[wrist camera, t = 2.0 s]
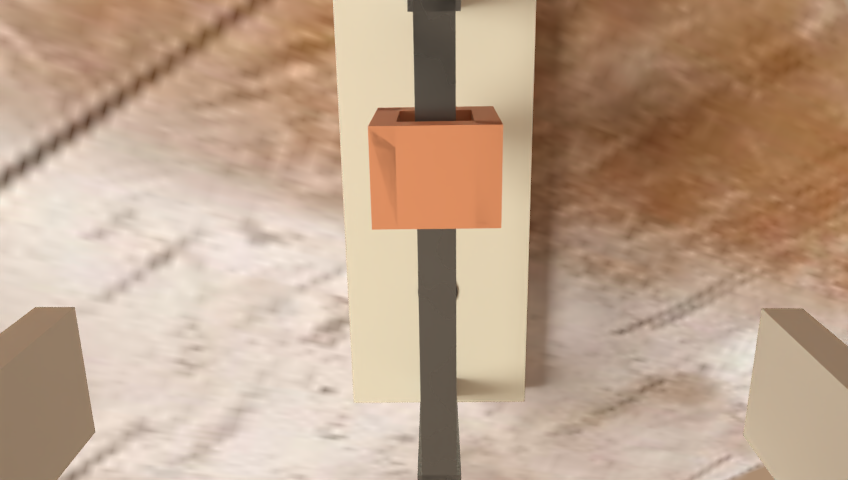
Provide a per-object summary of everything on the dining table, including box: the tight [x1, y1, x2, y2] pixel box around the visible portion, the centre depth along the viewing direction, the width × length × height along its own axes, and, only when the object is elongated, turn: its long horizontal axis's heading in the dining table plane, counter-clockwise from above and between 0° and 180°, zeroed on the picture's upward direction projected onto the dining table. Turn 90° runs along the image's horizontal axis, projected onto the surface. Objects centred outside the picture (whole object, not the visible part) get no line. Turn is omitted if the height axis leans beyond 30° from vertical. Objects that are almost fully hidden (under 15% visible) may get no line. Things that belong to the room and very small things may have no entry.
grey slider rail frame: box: [407, 0, 461, 480], centre depth 35 cm, size 24×2×9 cm, turn 1°
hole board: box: [333, 0, 536, 403], centre depth 40 cm, size 27×10×2 cm, turn 1°
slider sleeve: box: [368, 106, 503, 230], centre depth 33 cm, size 4×5×10 cm
